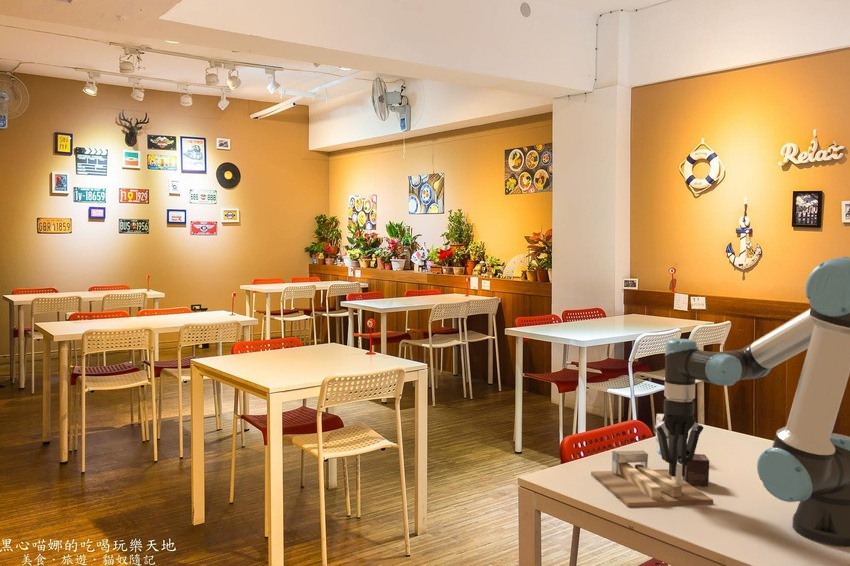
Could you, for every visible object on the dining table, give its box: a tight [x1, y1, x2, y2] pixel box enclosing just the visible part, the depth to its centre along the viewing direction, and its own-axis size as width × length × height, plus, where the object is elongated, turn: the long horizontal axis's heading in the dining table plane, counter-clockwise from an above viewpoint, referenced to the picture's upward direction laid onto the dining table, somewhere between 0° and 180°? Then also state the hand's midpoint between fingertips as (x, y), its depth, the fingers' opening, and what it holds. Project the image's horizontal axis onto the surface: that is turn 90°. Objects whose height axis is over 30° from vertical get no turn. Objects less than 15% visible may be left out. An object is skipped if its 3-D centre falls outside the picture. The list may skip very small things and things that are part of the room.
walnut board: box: [590, 468, 714, 508], centre depth 190 cm, size 24×23×1 cm
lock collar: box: [611, 450, 649, 475], centre depth 199 cm, size 3×9×6 cm, turn 99°
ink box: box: [654, 413, 678, 455], centre depth 222 cm, size 8×5×12 cm, turn 179°
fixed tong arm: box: [618, 463, 661, 499], centre depth 190 cm, size 22×2×3 cm, turn 9°
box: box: [682, 453, 710, 487], centre depth 196 cm, size 6×6×7 cm
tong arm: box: [634, 463, 682, 497], centre depth 189 cm, size 18×2×3 cm, turn 16°
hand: (676, 488), depth 184 cm, fingers closed
